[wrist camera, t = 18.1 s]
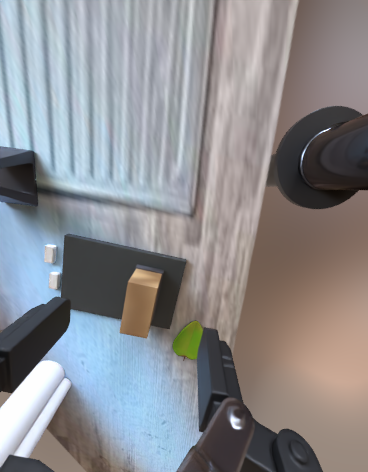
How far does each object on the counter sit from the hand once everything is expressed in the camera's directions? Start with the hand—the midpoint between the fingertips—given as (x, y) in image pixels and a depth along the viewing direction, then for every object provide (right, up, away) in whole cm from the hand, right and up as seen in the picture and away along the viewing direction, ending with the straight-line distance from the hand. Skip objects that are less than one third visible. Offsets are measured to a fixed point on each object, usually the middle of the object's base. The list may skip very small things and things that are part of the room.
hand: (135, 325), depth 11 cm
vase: (-27, -28, +32) cm, 50 cm away
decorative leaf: (+4, -17, +28) cm, 33 cm away
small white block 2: (-22, -3, +24) cm, 33 cm away
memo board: (-9, -4, +25) cm, 27 cm away
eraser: (-4, -5, +24) cm, 25 cm away
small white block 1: (-22, +2, +23) cm, 32 cm away
